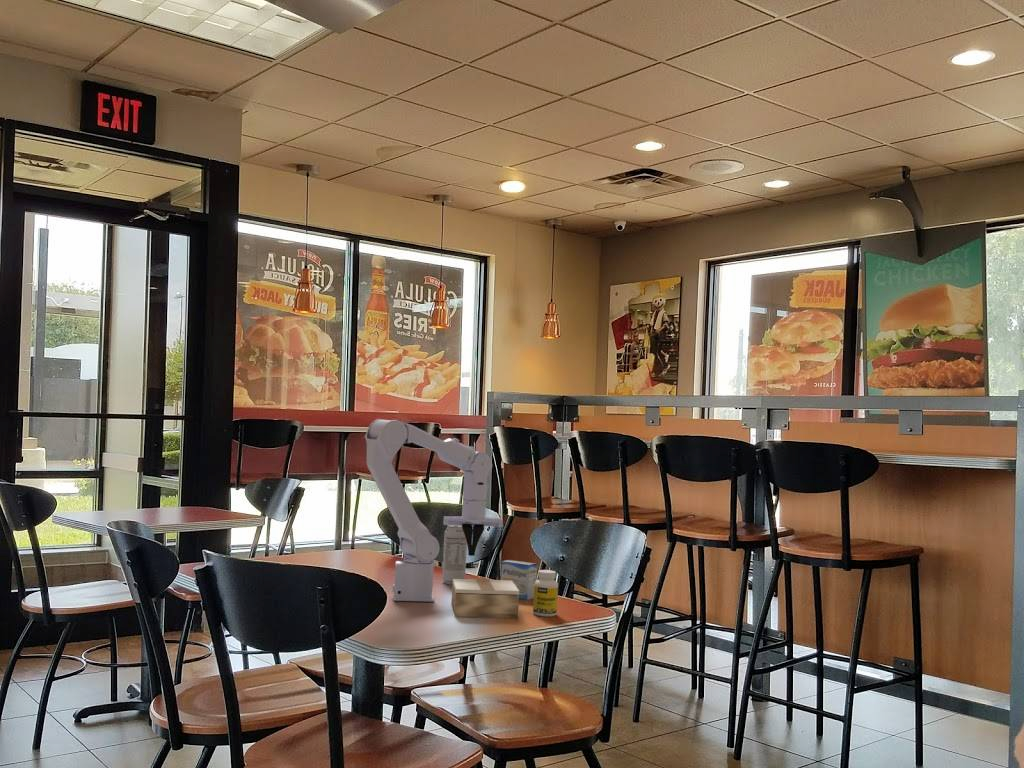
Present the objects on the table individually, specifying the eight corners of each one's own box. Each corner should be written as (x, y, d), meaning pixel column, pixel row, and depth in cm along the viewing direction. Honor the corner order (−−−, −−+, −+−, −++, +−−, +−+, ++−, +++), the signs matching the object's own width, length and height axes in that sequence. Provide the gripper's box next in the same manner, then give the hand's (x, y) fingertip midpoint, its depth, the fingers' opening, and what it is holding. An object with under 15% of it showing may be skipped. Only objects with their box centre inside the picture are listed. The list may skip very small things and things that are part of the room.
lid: (455, 592, 207) (456, 588, 207) (452, 582, 221) (452, 578, 221) (519, 594, 209) (519, 590, 209) (511, 584, 223) (511, 580, 223)
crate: (454, 616, 207) (455, 593, 207) (451, 603, 221) (452, 582, 221) (517, 618, 208) (519, 595, 209) (510, 605, 222) (511, 584, 223)
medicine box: (499, 596, 233) (501, 561, 234) (507, 593, 237) (509, 559, 238) (527, 600, 230) (529, 564, 230) (535, 598, 234) (537, 562, 234)
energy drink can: (466, 581, 251) (469, 525, 252) (462, 585, 245) (465, 527, 246) (444, 580, 252) (447, 523, 253) (440, 584, 246) (443, 526, 247)
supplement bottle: (533, 616, 211) (535, 572, 212) (532, 611, 217) (534, 568, 217) (557, 617, 212) (559, 573, 212) (555, 612, 217) (557, 569, 217)
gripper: (445, 500, 228) (442, 556, 228) (505, 502, 230) (502, 558, 229) (444, 497, 235) (441, 552, 235) (502, 499, 237) (499, 554, 236)
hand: (471, 555), depth 233 cm, fingers closed
